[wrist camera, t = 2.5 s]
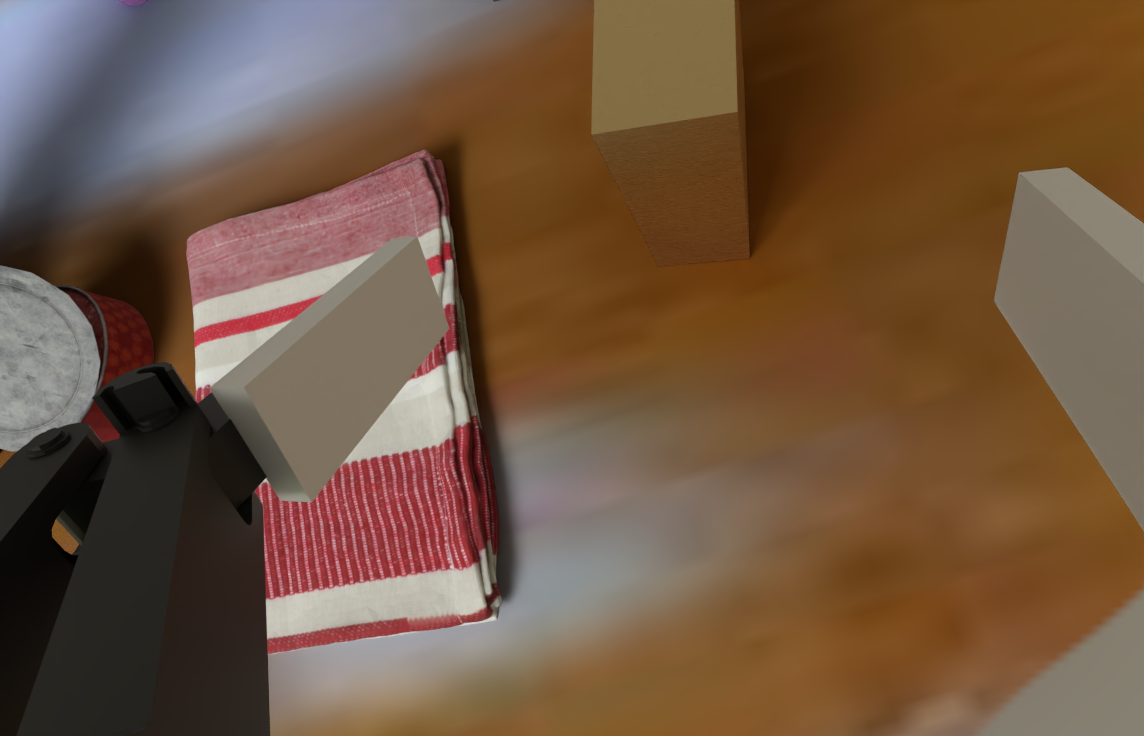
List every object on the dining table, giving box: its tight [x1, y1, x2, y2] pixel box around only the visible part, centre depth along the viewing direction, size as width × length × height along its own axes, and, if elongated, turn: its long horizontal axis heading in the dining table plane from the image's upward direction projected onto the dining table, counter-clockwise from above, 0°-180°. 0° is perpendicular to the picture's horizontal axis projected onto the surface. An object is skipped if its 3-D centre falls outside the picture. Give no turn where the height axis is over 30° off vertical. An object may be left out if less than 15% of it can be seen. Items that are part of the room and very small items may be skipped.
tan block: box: [591, 0, 750, 266], centre depth 23 cm, size 4×10×11 cm, turn 178°
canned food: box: [0, 265, 154, 452], centre depth 35 cm, size 11×10×10 cm
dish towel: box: [186, 149, 502, 655], centre depth 31 cm, size 17×23×3 cm
